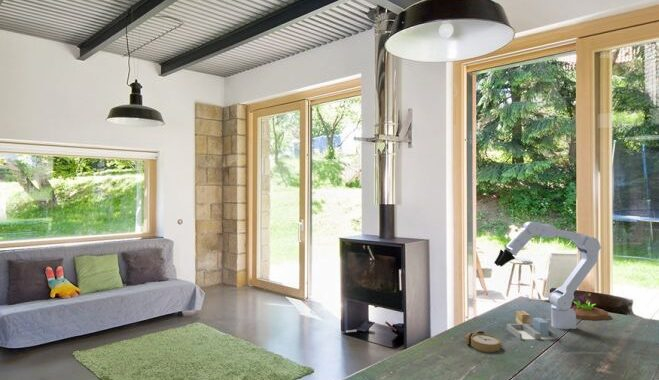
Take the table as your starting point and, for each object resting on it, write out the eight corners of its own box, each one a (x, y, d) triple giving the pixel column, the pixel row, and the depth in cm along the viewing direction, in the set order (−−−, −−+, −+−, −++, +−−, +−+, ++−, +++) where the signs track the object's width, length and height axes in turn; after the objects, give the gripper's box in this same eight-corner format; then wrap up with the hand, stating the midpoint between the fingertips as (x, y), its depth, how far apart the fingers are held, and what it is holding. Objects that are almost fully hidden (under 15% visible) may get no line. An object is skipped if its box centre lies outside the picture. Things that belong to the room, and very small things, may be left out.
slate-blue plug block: (541, 331, 186) (540, 317, 186) (548, 336, 179) (548, 322, 179) (532, 331, 186) (532, 317, 187) (540, 336, 179) (539, 322, 180)
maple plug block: (523, 323, 201) (523, 310, 201) (530, 328, 194) (530, 315, 194) (516, 323, 201) (515, 310, 201) (522, 328, 194) (521, 315, 194)
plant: (617, 320, 205) (617, 297, 205) (576, 321, 205) (575, 297, 206) (593, 309, 225) (592, 288, 225) (555, 310, 225) (554, 288, 226)
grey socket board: (541, 330, 190) (540, 323, 190) (556, 341, 176) (556, 333, 176) (506, 330, 191) (506, 323, 191) (519, 341, 177) (519, 333, 177)
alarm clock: (487, 347, 163) (458, 329, 176) (485, 359, 164) (457, 340, 177) (507, 341, 168) (478, 325, 181) (505, 353, 169) (476, 336, 182)
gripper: (507, 237, 203) (487, 258, 203) (514, 236, 189) (493, 259, 189) (519, 247, 201) (499, 268, 202) (527, 247, 187) (506, 270, 188)
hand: (497, 264), depth 195 cm, fingers open, 7 cm apart
